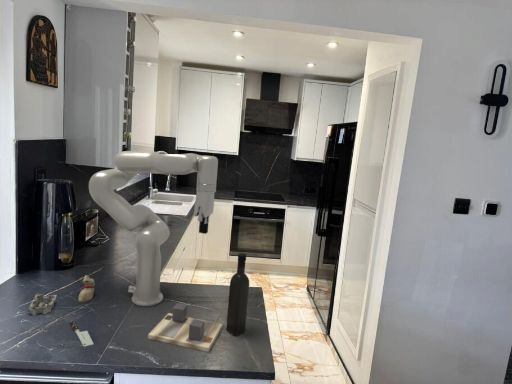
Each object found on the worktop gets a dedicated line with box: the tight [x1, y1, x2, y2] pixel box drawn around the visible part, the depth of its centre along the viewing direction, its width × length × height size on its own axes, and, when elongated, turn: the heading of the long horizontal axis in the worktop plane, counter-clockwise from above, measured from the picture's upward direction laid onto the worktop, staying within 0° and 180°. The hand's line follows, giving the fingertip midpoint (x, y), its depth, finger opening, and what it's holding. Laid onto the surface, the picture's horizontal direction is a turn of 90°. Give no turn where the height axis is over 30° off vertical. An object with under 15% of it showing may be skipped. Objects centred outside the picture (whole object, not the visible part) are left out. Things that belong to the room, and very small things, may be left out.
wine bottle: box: [225, 252, 250, 337], centre depth 122 cm, size 6×6×30 cm
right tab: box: [189, 318, 206, 341], centre depth 116 cm, size 4×4×5 cm
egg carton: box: [28, 292, 57, 316], centre depth 128 cm, size 11×8×4 cm
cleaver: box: [69, 320, 94, 348], centre depth 115 cm, size 17×1×5 cm
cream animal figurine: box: [78, 274, 96, 304], centre depth 137 cm, size 6×8×10 cm
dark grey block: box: [172, 302, 188, 322], centre depth 125 cm, size 4×4×5 cm
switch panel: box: [147, 312, 223, 353], centre depth 121 cm, size 22×15×2 cm
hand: (203, 232), depth 134 cm, fingers closed
